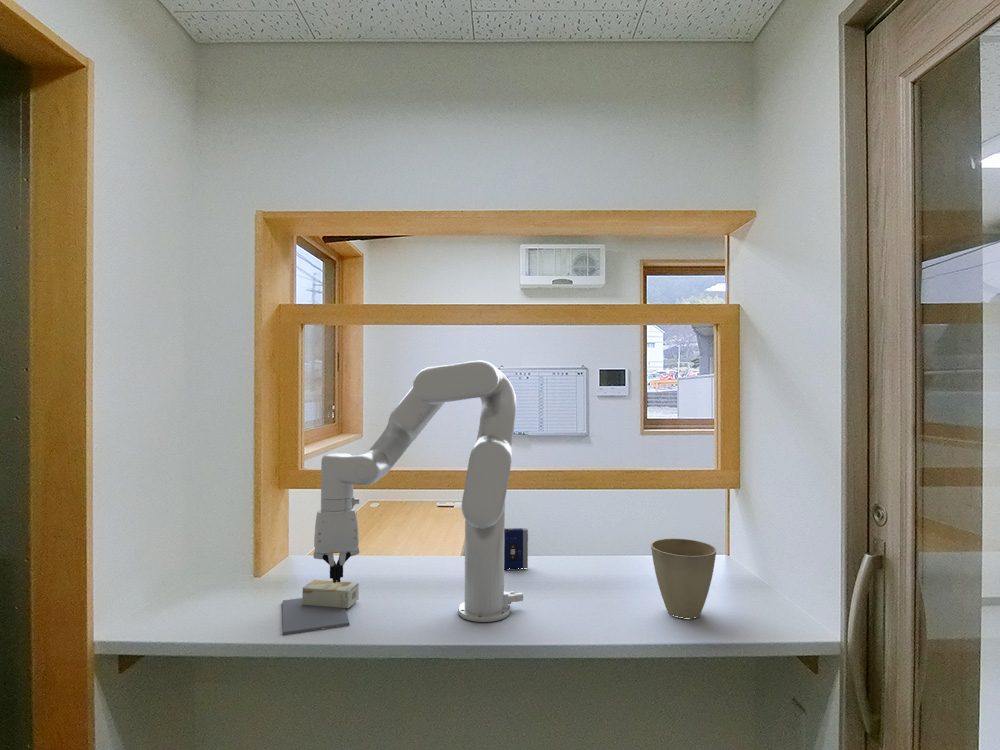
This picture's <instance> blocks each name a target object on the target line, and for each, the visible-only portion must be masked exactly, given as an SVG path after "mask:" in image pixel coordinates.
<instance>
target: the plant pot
mask: <svg viewBox="0 0 1000 750" xmlns="http://www.w3.org/2000/svg"><path fill="white" fill-rule="evenodd" d="M650 548H651V549H650V550H651V556H652V562H653V567H654V568H653V569H654V572H655V576H656V579H657V584H658V588H659V591H660V595H661V598H662V601H663V604H664V606H665V609H666V611H668V612H667V614H669V613H670V614H672V615H674V616H678V617H683V618H694V617H698V616H699V615H700V616H701V614H702V611H703V608H704V606H705V603H706V602H707V601H706V600H707V597H708V594H709V590H710V587H711V584H712V579H713V575H714V574H713V573H714V568H715V562H716V556H717V548H716V547H715V546H713V545H712V544H710V543H707V542H704V541H699V540H696V539H695V540H694V539H689V538H672V537H671V538H662V539H656V540H654V541H652V542H651V543H650ZM670 614H669V615H670ZM700 616H699V617H700ZM699 617H698V618H699Z"/></svg>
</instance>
